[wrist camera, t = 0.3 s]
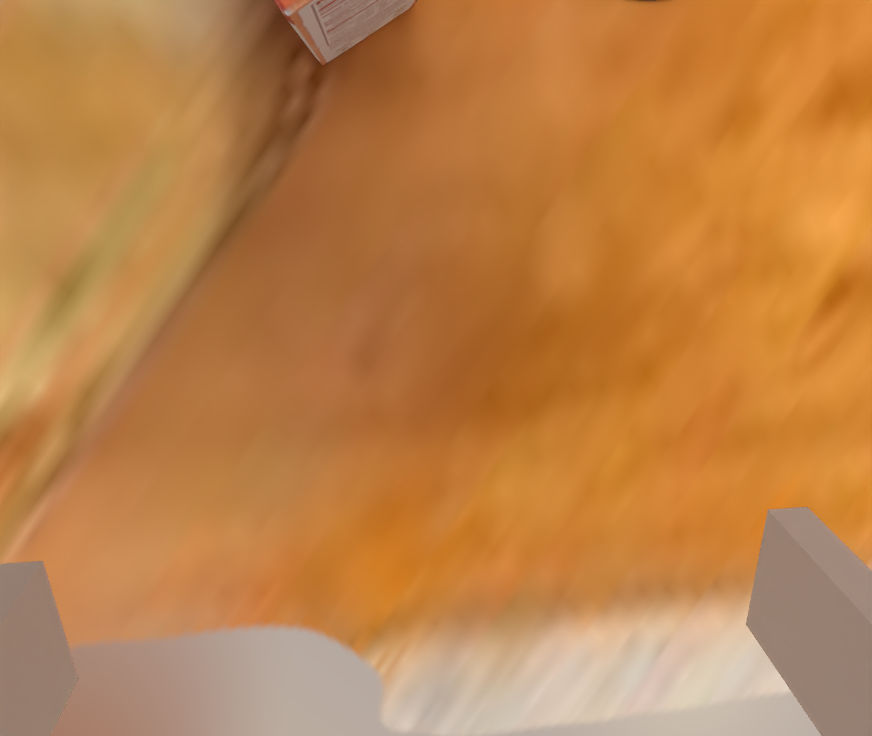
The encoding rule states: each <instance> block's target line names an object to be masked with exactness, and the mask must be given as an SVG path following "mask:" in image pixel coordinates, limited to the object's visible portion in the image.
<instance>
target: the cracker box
mask: <svg viewBox="0 0 872 736" xmlns="http://www.w3.org/2000/svg"><path fill="white" fill-rule="evenodd" d="M273 1H274V2H275V3H276V5H277V6H278V8H279V9H280V11H281V12H282V14H283V15H284V16H285V18H286V19H287V20H288V21H289V23H290V24H291V25H292V27H293V28H294V30H295V31H296V32H297V33H298V35H299V36H300V38H301V39H302V40H303V41H304V43H305V44H306V45H307V47H308V48H309V49H310V51H311V52H312V53H313V55H314V56H315V57H316V59H317V60H318V61H319V63H320V64H321V65H325V64H327V63H328V62H330V61H331V60H333V59H334V58H336V57H337V56H339V55H340V54H342V53H343V52H345V51H346V50H348V49H349V48H351V47H352V46H354V45H356V44H357V43H359V42H360V41H362V40H363V39H365V38H366V37H368V36H369V35H371V34H372V33H374V32H375V31H377V30H378V29H380V28H381V27H383V26H384V25H386V24H387V23H389V22H390V21H391V20H393V19H394V18H396V17H397V16H399V15H400V14H402V13H403V12H405V11H406V10H408V9H409V8H411V7H412V6H413V5H414V4H415V3H416V2H417V0H273Z"/></svg>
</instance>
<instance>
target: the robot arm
mask: <svg viewBox="0 0 872 736" xmlns="http://www.w3.org/2000/svg"><path fill="white" fill-rule="evenodd" d="M746 625H747V626H748V628H749V629H750V631H751V632H752V634H753V635H754V637H755V638H756V640H757V641H758V643H759V644H760V646H761V647H762V649H763V650H764V652H765V653H766V654H767V656H768V657H769V659H770V660H771V662H772V663H773V665H774V666H775V668H776V669H777V671H778V672H779V674H780V675H781V677H782V678H783V680H784V681H785V682H786V684H787V685H788V687H789V688H790V690H791V691H792V693H793V694H794V696H795V697H796V698H797V700H798V702H799V703H800V705H801V706H802V708H803V709H804V711H805V712H806V713H807V715H808V716H809V718H810V719H811V721H812V722H813V723H814V725H815V727H816V728H817V729H818V731H819V733H820V734H821V736H872V571H871V570H870V569H869V568H868V567H867V566H866V565H865V564H864V563H863V562H862V561H861V560H860V559H859V558H858V557H857V556H856V555H855V554H854V553H853V552H852V551H851V550H850V549H849V548H848V547H847V546H846V545H845V544H844V543H843V542H842V541H841V540H840V539H839V538H838V537H837V536H836V535H835V534H834V533H833V532H832V531H831V530H830V529H829V528H828V527H827V526H826V525H825V524H824V523H823V522H822V521H821V520H820V519H819V518H818V517H817V516H816V515H815V514H814V513H813V512H812V511H811V510H810V509H809V508H808V507H800V508H786V509H772V510H768V512H767V517H766V523H765V528H764V533H763V538H762V544H761V549H760V554H759V559H758V564H757V570H756V575H755V580H754V585H753V590H752V596H751V601H750V606H749V611H748V616H747V622H746ZM77 681H78V675H77V672H76V669H75V666H74V662H73V659H72V656H71V652H70V649H69V646H68V642H67V639H66V636H65V632H64V629H63V626H62V623H61V619H60V616H59V613H58V609H57V606H56V603H55V600H54V596H53V593H52V590H51V586H50V583H49V580H48V576H47V573H46V570H45V567H44V563H43V561H36V562H22V563H7V564H0V736H51V734H52V731H53V730H54V728H55V725H56V723H57V721H58V719H59V717H60V715H61V713H62V711H63V709H64V707H65V705H66V703H67V701H68V699H69V697H70V695H71V693H72V691H73V689H74V687H75V685H76V683H77Z"/></svg>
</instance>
